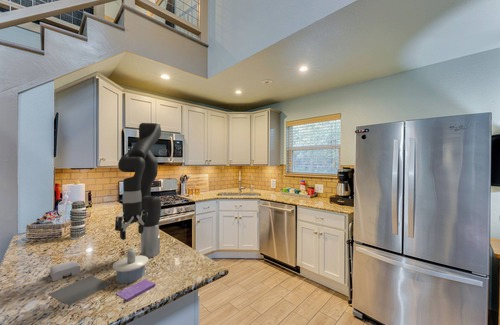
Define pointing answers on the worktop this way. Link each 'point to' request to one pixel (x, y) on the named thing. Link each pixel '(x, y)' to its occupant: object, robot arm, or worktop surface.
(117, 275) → the bowl
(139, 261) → the lid
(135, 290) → the sponges
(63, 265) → the charger
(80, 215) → the decorative candle
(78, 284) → the mat
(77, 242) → the worktop surface
